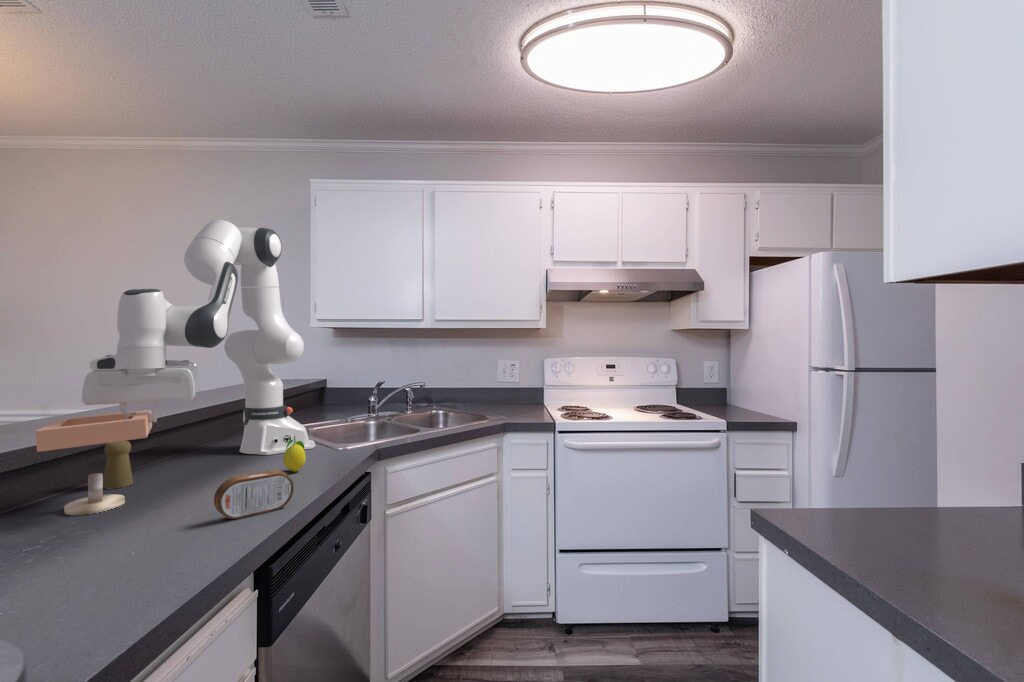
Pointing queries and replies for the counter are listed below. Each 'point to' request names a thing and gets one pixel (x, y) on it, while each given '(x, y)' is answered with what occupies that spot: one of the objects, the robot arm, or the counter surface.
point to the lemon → (294, 455)
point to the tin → (253, 494)
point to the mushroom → (94, 499)
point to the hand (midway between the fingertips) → (141, 422)
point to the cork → (117, 465)
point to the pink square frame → (93, 430)
